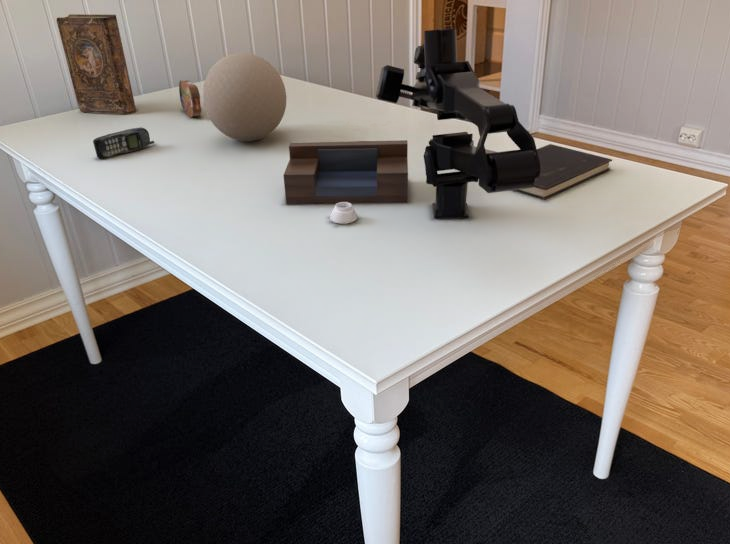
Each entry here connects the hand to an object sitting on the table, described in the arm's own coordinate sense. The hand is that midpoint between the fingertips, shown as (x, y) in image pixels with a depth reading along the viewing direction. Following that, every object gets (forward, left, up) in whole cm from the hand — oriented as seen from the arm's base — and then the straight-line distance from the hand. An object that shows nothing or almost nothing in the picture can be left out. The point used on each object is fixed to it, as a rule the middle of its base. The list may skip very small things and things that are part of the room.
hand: (413, 94), depth 140 cm
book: (+54, +87, -16) cm, 104 cm away
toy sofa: (-13, +13, -16) cm, 24 cm away
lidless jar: (-27, +13, -16) cm, 34 cm away
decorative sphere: (+24, +40, -16) cm, 49 cm away
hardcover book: (-5, -28, -16) cm, 32 cm away
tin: (+49, +61, -16) cm, 80 cm away
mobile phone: (+16, +69, -16) cm, 73 cm away
